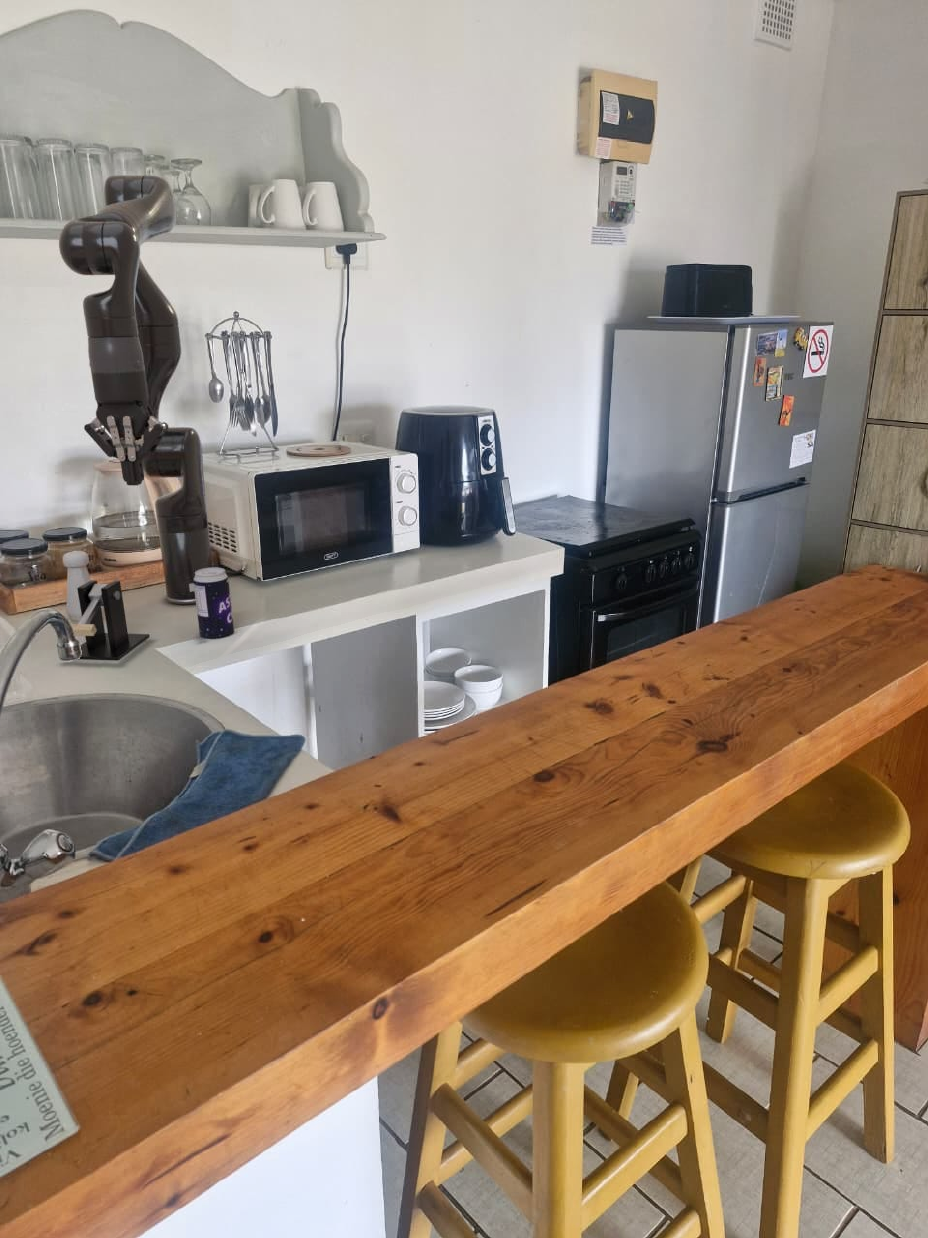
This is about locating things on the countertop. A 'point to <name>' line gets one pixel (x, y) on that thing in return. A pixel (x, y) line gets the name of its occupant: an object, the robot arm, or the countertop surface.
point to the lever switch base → (108, 625)
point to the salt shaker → (75, 580)
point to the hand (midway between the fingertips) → (134, 484)
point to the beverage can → (213, 603)
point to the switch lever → (90, 613)
